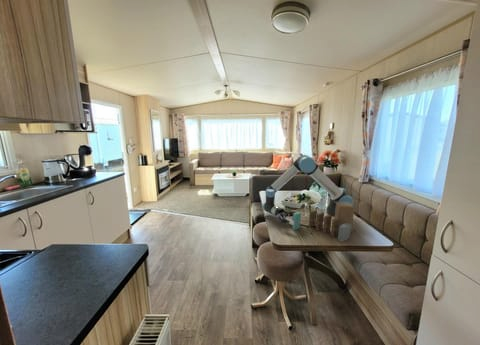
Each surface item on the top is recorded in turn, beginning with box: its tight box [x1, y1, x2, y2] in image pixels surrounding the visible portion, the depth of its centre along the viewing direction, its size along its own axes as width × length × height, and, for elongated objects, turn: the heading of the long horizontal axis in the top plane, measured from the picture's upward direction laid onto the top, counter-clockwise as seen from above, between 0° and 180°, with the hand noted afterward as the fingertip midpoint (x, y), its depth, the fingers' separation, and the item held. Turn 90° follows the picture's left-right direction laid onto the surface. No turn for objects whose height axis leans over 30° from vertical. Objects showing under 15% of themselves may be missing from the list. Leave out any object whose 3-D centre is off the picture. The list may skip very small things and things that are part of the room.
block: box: [334, 202, 355, 234], centre depth 152 cm, size 10×10×20 cm
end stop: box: [337, 223, 351, 242], centre depth 140 cm, size 9×3×10 cm, turn 126°
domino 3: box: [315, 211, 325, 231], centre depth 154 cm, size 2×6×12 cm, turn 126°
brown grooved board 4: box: [322, 214, 333, 234], centre depth 149 cm, size 2×6×12 cm, turn 126°
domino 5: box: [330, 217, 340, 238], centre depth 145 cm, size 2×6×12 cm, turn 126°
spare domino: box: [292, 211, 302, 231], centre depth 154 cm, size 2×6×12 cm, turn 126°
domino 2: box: [308, 209, 318, 228], centre depth 159 cm, size 2×6×12 cm, turn 126°
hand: (299, 221), depth 151 cm, fingers open, 13 cm apart
